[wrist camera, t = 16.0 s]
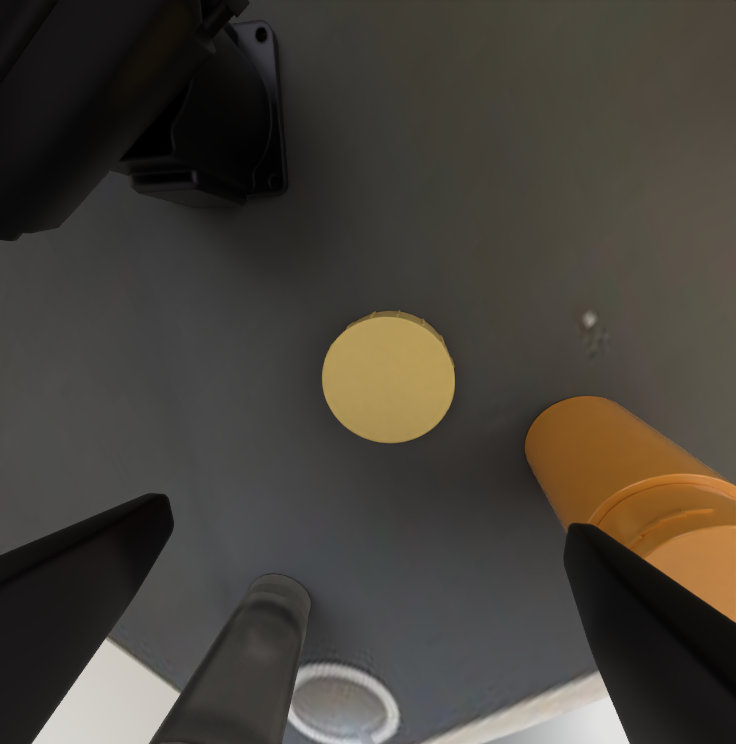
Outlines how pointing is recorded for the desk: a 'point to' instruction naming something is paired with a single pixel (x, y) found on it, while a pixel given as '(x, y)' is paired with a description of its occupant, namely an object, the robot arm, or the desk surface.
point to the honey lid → (389, 377)
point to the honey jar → (638, 493)
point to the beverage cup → (245, 672)
